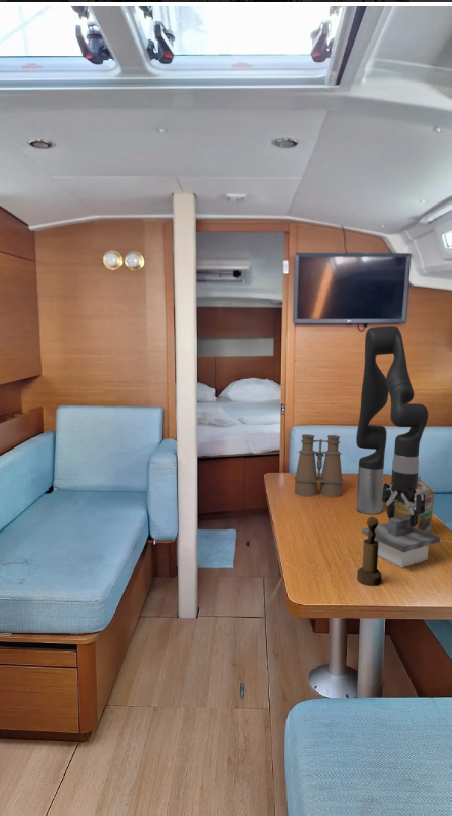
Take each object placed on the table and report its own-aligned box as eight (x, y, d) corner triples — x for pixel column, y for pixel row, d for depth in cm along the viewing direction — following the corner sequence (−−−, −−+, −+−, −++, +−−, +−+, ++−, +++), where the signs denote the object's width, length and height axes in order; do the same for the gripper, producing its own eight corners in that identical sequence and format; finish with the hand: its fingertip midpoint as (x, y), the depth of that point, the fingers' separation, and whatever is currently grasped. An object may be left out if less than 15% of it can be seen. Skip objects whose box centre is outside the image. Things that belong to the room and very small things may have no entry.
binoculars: (340, 490, 230) (343, 434, 227) (344, 497, 220) (347, 438, 217) (292, 489, 231) (294, 432, 227) (294, 496, 221) (297, 437, 218)
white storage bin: (397, 546, 170) (398, 528, 169) (427, 559, 160) (429, 540, 159) (371, 553, 164) (372, 534, 163) (401, 567, 154) (402, 548, 154)
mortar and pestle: (353, 575, 149) (357, 513, 147) (376, 574, 150) (379, 513, 147) (361, 586, 143) (365, 521, 140) (385, 585, 143) (389, 521, 141)
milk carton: (402, 524, 191) (406, 472, 188) (431, 532, 183) (435, 478, 181) (387, 531, 184) (391, 477, 181) (416, 540, 176) (421, 484, 174)
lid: (397, 525, 172) (399, 507, 171) (439, 542, 159) (441, 522, 158) (362, 533, 164) (363, 514, 163) (403, 552, 151) (404, 531, 150)
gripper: (433, 473, 154) (429, 527, 157) (395, 463, 166) (391, 512, 169) (416, 476, 151) (412, 531, 153) (378, 465, 163) (375, 516, 165)
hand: (401, 521), depth 161 cm, fingers open, 8 cm apart
